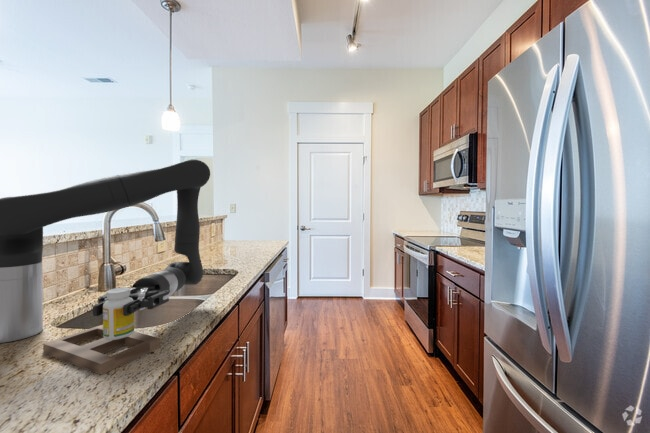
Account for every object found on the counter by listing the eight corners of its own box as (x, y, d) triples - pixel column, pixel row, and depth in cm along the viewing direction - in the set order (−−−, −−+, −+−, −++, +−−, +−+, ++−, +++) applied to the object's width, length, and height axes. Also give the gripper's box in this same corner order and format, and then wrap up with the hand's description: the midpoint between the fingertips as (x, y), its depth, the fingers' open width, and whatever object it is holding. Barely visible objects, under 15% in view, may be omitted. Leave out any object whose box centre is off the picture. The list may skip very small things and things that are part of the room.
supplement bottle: (97, 341, 59) (95, 294, 59) (113, 330, 64) (112, 286, 64) (125, 340, 59) (124, 293, 59) (139, 329, 65) (138, 286, 64)
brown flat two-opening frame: (43, 353, 62) (43, 343, 62) (105, 331, 73) (104, 323, 73) (101, 374, 54) (101, 364, 54) (160, 347, 65) (160, 338, 65)
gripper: (127, 273, 76) (72, 293, 59) (184, 273, 76) (145, 292, 59) (128, 302, 76) (74, 330, 59) (184, 301, 76) (146, 329, 59)
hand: (110, 311), depth 59 cm, fingers closed on supplement bottle, 5 cm apart
